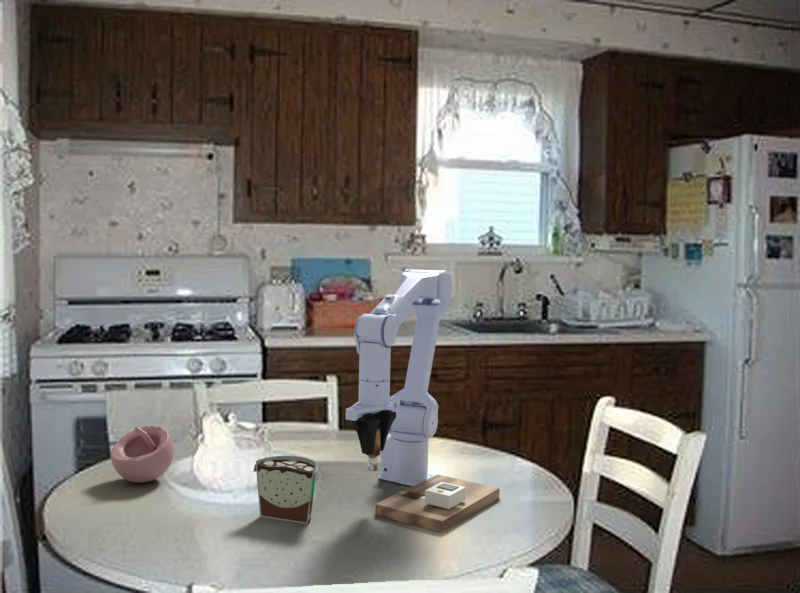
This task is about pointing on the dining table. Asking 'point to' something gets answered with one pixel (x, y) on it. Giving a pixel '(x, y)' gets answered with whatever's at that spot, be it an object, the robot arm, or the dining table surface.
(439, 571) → the dining table surface
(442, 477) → the board
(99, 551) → the dining table surface
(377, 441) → the brown translucent cylinder
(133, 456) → the mortar and pestle
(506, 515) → the dining table surface
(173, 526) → the dining table surface
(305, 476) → the food container
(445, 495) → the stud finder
